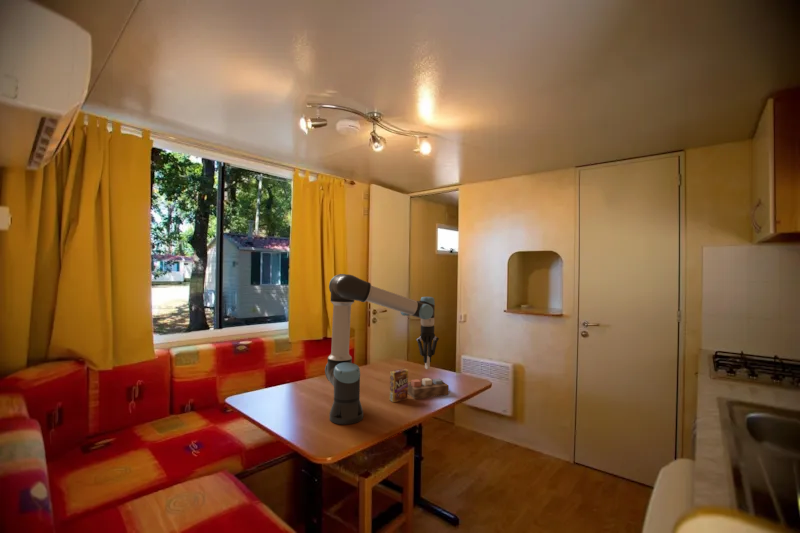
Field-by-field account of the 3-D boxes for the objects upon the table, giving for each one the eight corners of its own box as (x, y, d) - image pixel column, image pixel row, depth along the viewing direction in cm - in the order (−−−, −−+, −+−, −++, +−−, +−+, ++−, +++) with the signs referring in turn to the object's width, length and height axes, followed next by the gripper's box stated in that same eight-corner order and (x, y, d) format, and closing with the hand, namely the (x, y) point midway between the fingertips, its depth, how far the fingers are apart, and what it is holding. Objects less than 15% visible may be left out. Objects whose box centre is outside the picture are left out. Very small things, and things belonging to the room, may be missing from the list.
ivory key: (425, 388, 190) (425, 380, 190) (422, 385, 193) (422, 378, 193) (431, 387, 191) (431, 380, 191) (428, 385, 195) (428, 377, 195)
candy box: (393, 403, 178) (393, 372, 178) (389, 400, 181) (389, 370, 181) (408, 399, 182) (408, 370, 183) (403, 397, 186) (403, 368, 186)
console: (414, 399, 183) (414, 389, 183) (405, 391, 194) (405, 382, 194) (448, 394, 190) (448, 385, 190) (438, 387, 201) (438, 378, 201)
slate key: (435, 388, 192) (436, 381, 192) (432, 386, 196) (432, 379, 196) (442, 387, 193) (442, 380, 193) (439, 385, 197) (439, 378, 197)
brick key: (414, 389, 187) (414, 382, 187) (411, 387, 191) (411, 379, 191) (420, 388, 189) (421, 381, 189) (417, 386, 192) (417, 379, 192)
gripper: (419, 326, 186) (419, 371, 186) (441, 325, 191) (441, 369, 191) (413, 324, 193) (413, 367, 193) (435, 323, 198) (434, 365, 198)
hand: (427, 368), depth 192 cm, fingers closed
